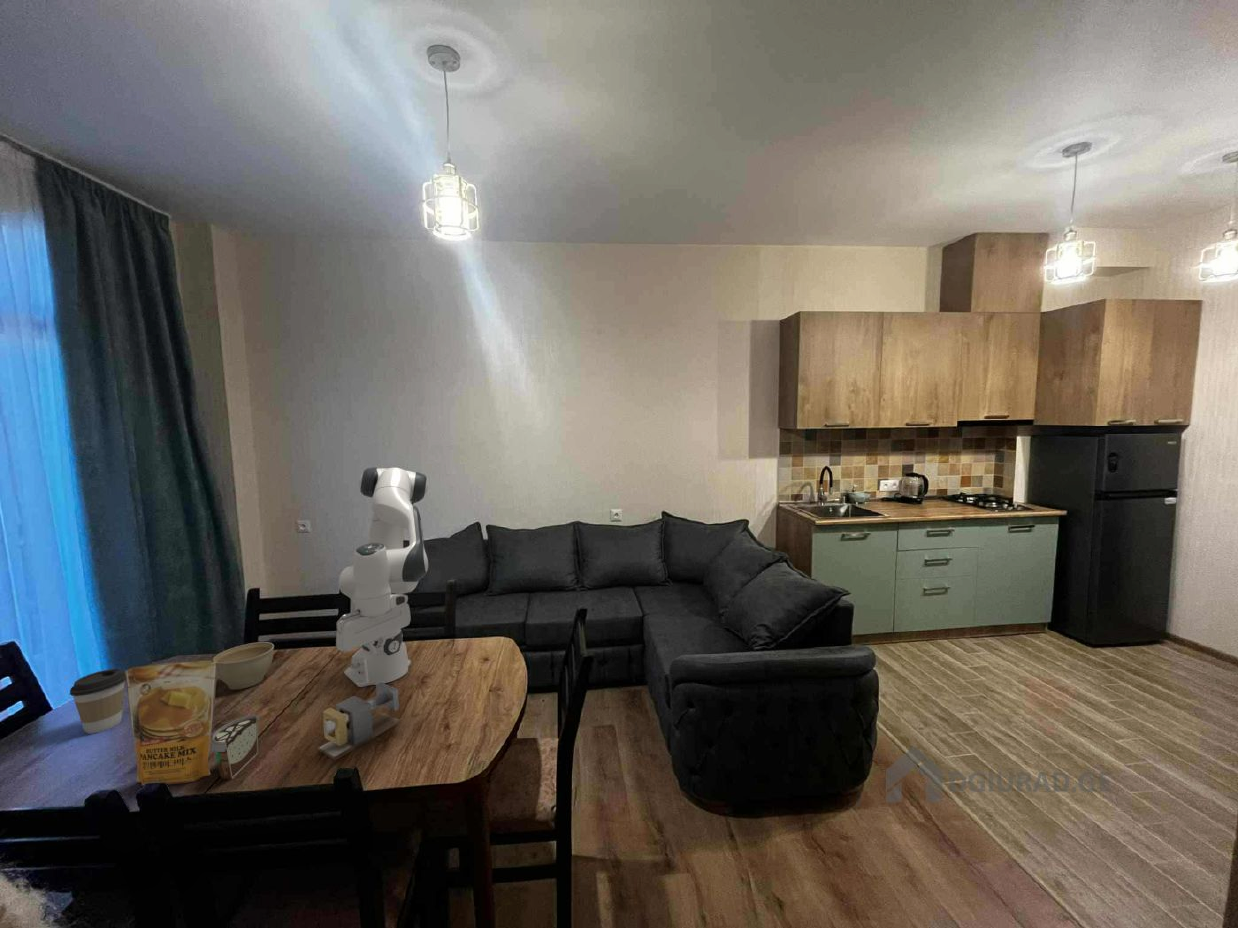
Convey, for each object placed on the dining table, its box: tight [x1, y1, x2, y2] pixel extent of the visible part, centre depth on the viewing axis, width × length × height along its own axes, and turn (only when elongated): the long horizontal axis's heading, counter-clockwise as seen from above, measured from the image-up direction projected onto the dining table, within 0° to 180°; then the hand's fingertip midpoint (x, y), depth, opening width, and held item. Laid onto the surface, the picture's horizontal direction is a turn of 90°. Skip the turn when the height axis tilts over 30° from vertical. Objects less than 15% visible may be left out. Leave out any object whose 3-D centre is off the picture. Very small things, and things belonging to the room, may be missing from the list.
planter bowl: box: [212, 641, 275, 690], centre depth 161 cm, size 16×16×11 cm
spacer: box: [322, 707, 348, 746], centre depth 124 cm, size 7×2×7 cm, turn 59°
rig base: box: [318, 711, 401, 761], centre depth 130 cm, size 8×18×1 cm, turn 149°
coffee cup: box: [69, 668, 126, 735], centre depth 138 cm, size 11×11×15 cm
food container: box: [210, 714, 260, 780], centre depth 119 cm, size 12×6×10 cm, turn 5°
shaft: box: [323, 683, 400, 734], centre depth 130 cm, size 8×18×6 cm, turn 149°
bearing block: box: [335, 695, 374, 749], centre depth 129 cm, size 8×5×10 cm, turn 59°
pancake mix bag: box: [123, 659, 218, 787], centre depth 116 cm, size 7×19×28 cm, turn 96°
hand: (376, 653), depth 130 cm, fingers closed
